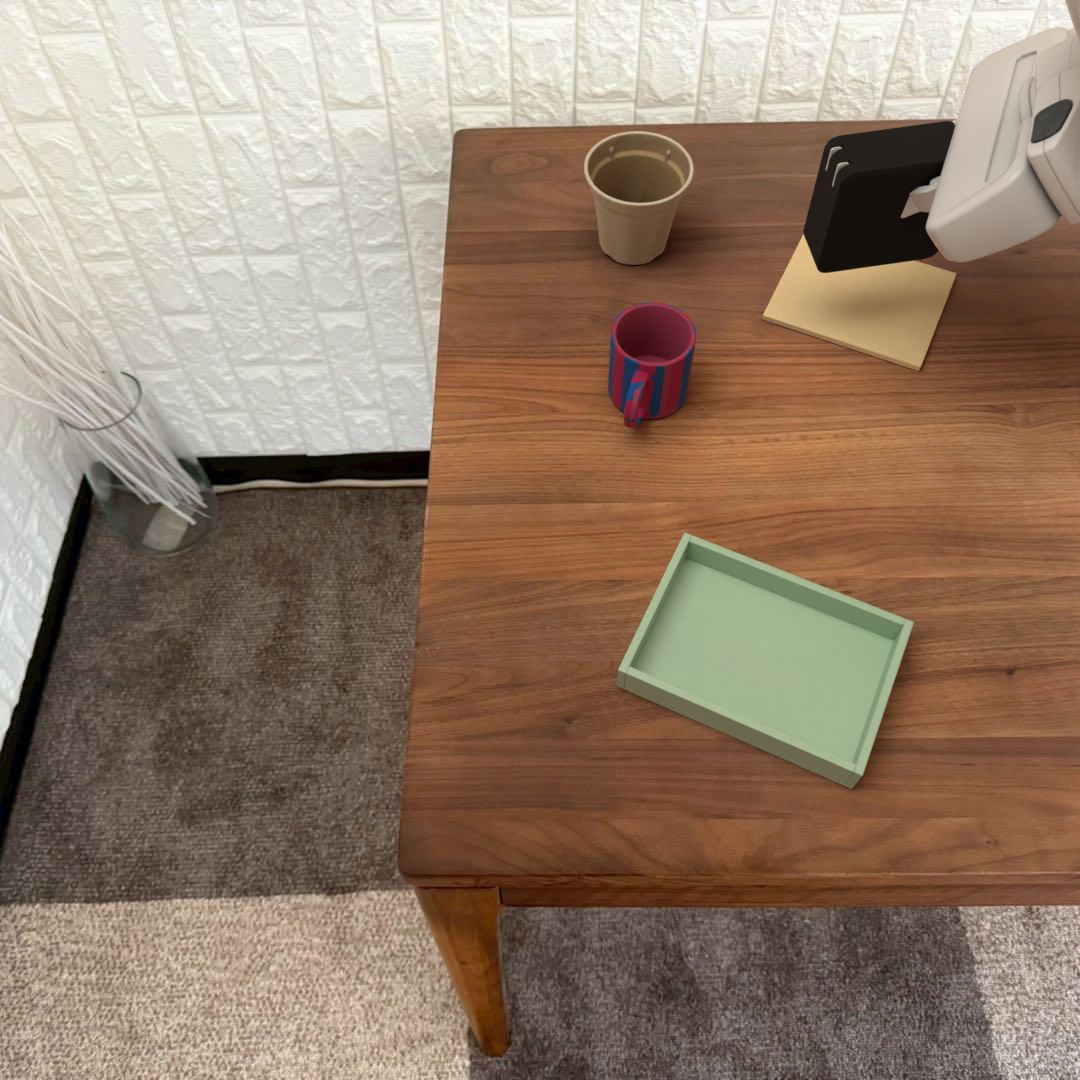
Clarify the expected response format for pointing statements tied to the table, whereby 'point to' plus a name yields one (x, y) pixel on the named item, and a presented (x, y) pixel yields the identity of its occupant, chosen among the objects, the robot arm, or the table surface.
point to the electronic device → (874, 197)
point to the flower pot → (636, 192)
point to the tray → (767, 658)
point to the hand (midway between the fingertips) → (901, 186)
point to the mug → (650, 361)
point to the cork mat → (863, 306)
